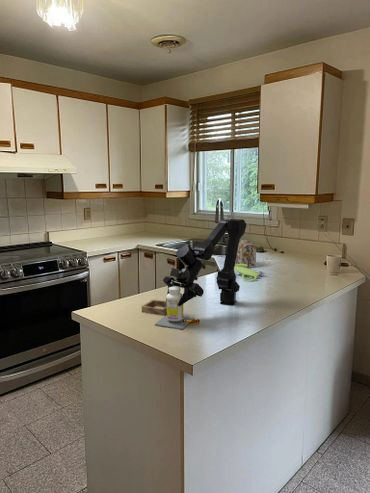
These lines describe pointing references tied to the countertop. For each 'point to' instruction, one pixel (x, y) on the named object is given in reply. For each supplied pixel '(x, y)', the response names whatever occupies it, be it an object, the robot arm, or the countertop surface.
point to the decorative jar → (246, 254)
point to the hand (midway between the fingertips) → (172, 303)
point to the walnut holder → (150, 309)
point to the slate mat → (173, 323)
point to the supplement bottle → (174, 304)
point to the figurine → (247, 272)
